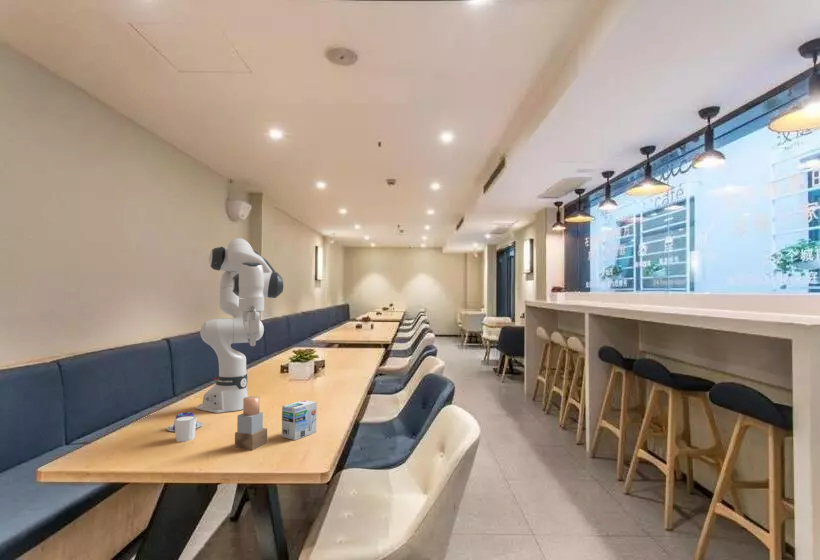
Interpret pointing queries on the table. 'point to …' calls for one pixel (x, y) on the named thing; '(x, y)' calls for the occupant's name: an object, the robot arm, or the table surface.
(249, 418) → the tower mid
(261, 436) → the tower base
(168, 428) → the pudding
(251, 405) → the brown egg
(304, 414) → the light bulb box
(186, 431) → the shot glass
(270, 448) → the table surface
